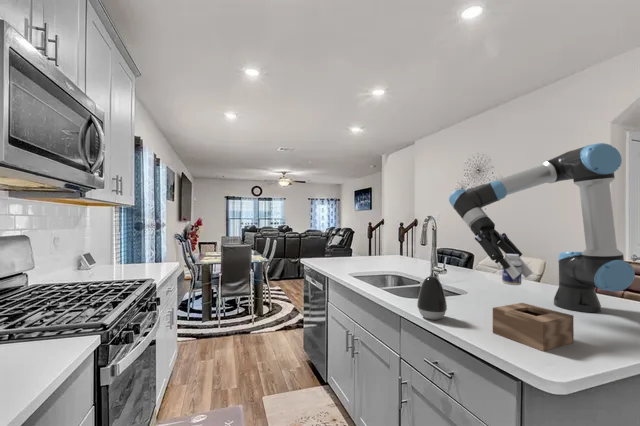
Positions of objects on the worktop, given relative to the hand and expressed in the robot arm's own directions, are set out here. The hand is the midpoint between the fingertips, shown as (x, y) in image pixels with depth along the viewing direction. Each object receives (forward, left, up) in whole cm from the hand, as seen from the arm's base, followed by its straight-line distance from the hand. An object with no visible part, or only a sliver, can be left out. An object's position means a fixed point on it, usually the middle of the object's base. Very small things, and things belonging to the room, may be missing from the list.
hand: (522, 275), depth 99 cm
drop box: (+1, +3, -18) cm, 19 cm away
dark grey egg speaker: (+15, -24, -19) cm, 34 cm away
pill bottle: (0, -4, -3) cm, 5 cm away
